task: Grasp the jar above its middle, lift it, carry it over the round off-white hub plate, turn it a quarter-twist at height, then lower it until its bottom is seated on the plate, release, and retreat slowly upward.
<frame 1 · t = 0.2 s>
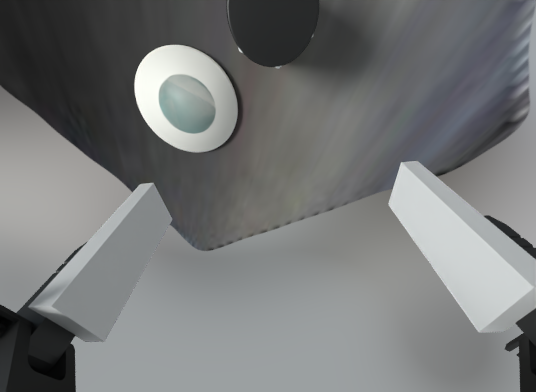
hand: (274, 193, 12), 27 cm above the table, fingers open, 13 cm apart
jar: (272, 22, 28), on the table
hub plate: (189, 105, 34), on the table
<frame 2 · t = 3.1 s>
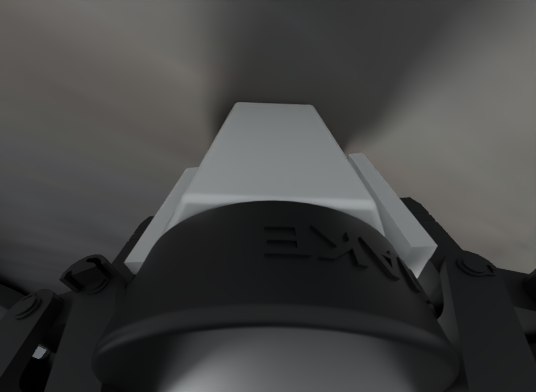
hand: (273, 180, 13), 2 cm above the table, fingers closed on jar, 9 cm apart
jar: (271, 160, 15), on the table, touching gripper
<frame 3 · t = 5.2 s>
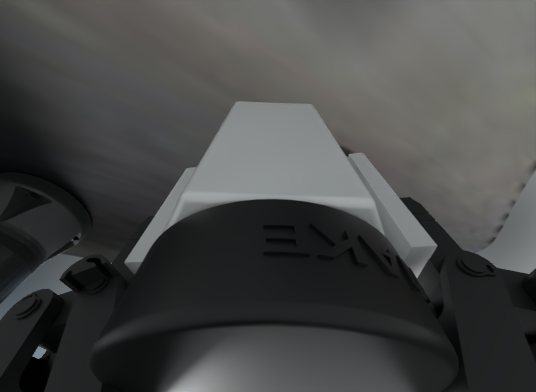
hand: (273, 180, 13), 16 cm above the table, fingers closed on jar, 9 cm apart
jar: (271, 160, 15), point 14 cm above the table, touching gripper
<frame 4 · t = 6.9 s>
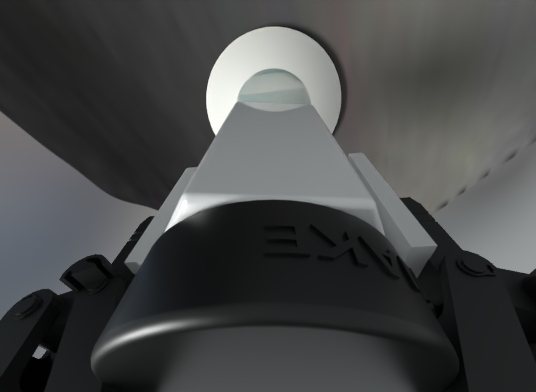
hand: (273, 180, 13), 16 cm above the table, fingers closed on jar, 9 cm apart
jar: (271, 160, 15), point 14 cm above the table, touching gripper
hub plate: (273, 110, 26), on the table
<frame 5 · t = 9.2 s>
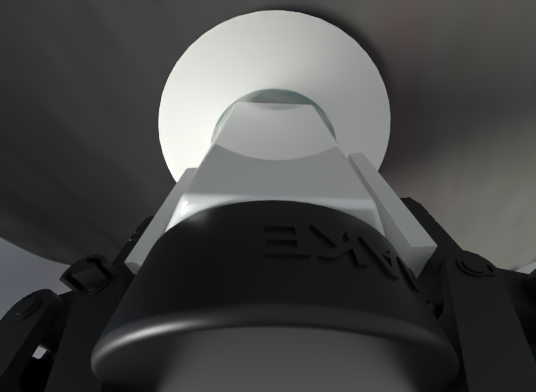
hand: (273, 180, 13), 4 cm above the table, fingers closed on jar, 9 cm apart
jar: (271, 160, 15), point 1 cm above the table, touching gripper
hub plate: (273, 152, 16), on the table
when the fingers open (3 cm above the table, at t = 10.9 s): jar stays where it is, resting on hub plate.
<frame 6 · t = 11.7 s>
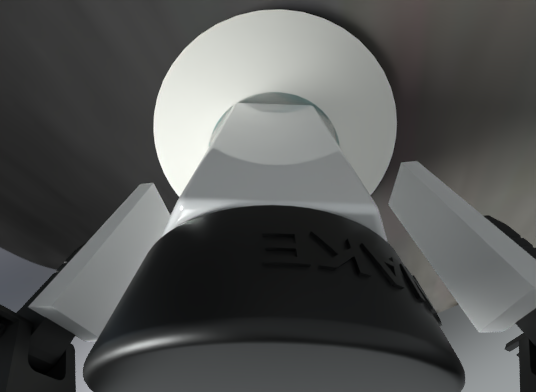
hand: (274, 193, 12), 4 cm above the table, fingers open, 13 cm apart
jar: (271, 161, 15), point 1 cm above the table, touching hub plate
hub plate: (273, 157, 15), on the table
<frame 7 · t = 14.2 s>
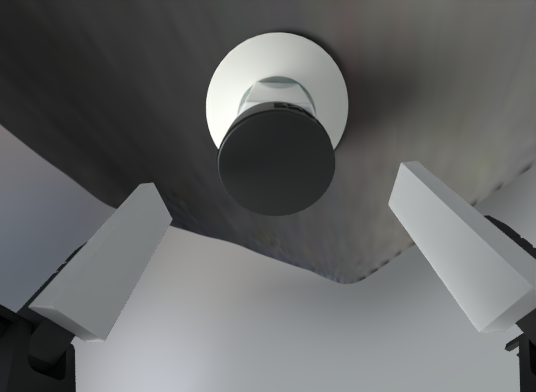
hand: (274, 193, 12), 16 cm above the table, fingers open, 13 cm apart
jar: (275, 120, 24), point 1 cm above the table, touching hub plate
hub plate: (276, 118, 25), on the table
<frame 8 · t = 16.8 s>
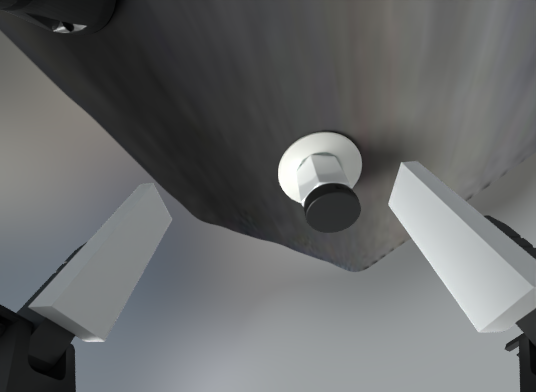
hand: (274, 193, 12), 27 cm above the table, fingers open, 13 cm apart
jar: (318, 172, 41), point 1 cm above the table, touching hub plate
hub plate: (318, 171, 41), on the table
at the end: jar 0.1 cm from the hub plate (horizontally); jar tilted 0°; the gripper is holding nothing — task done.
